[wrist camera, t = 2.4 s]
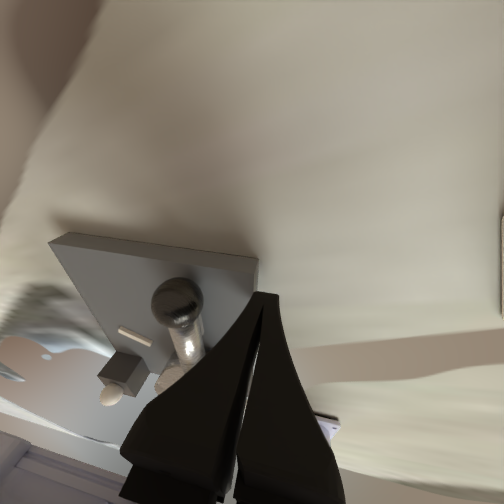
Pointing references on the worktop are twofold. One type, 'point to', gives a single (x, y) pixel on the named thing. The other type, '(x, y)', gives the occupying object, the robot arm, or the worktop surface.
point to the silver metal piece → (179, 326)
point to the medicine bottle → (503, 268)
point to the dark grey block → (122, 377)
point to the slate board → (153, 289)
